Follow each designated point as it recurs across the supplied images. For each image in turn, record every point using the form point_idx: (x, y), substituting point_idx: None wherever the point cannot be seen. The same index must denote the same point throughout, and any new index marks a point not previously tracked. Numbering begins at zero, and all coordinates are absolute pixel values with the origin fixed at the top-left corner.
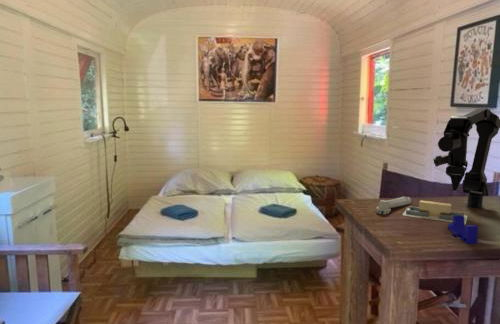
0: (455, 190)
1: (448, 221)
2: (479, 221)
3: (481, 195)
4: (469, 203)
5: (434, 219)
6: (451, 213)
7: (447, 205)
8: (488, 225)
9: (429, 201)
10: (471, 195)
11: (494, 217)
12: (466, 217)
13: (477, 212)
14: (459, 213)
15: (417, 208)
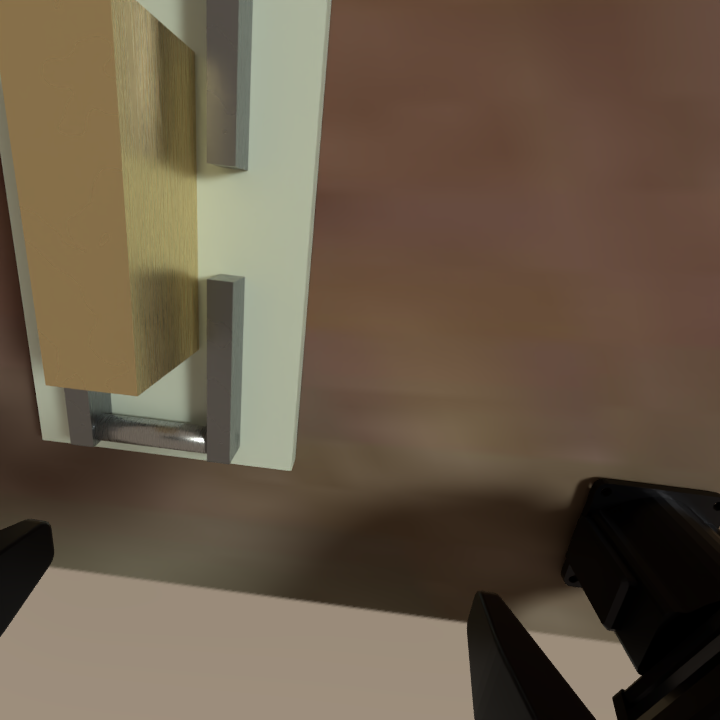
0: (37, 547)
1: (31, 327)
2: (249, 521)
3: (629, 686)
4: (631, 529)
5: (15, 212)
6: (212, 365)
7: (42, 353)
8: (181, 555)
9: (114, 130)
10: (658, 608)
11: (396, 609)
12: (233, 460)
13: (494, 537)
14: (208, 428)
15: (209, 3)
